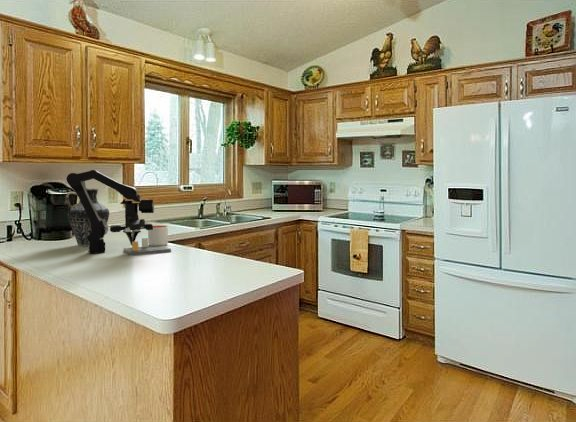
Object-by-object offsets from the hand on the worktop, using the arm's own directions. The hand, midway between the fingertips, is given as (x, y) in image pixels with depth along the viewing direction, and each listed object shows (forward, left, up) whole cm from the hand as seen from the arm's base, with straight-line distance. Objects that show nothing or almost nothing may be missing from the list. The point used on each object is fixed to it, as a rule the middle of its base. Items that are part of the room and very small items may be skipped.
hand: (132, 245), depth 193 cm
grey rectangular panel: (+6, -4, -3) cm, 8 cm away
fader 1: (-1, -8, -1) cm, 8 cm away
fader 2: (+6, 0, -1) cm, 6 cm away
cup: (+16, +12, -3) cm, 20 cm away
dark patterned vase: (-15, +30, -3) cm, 34 cm away
